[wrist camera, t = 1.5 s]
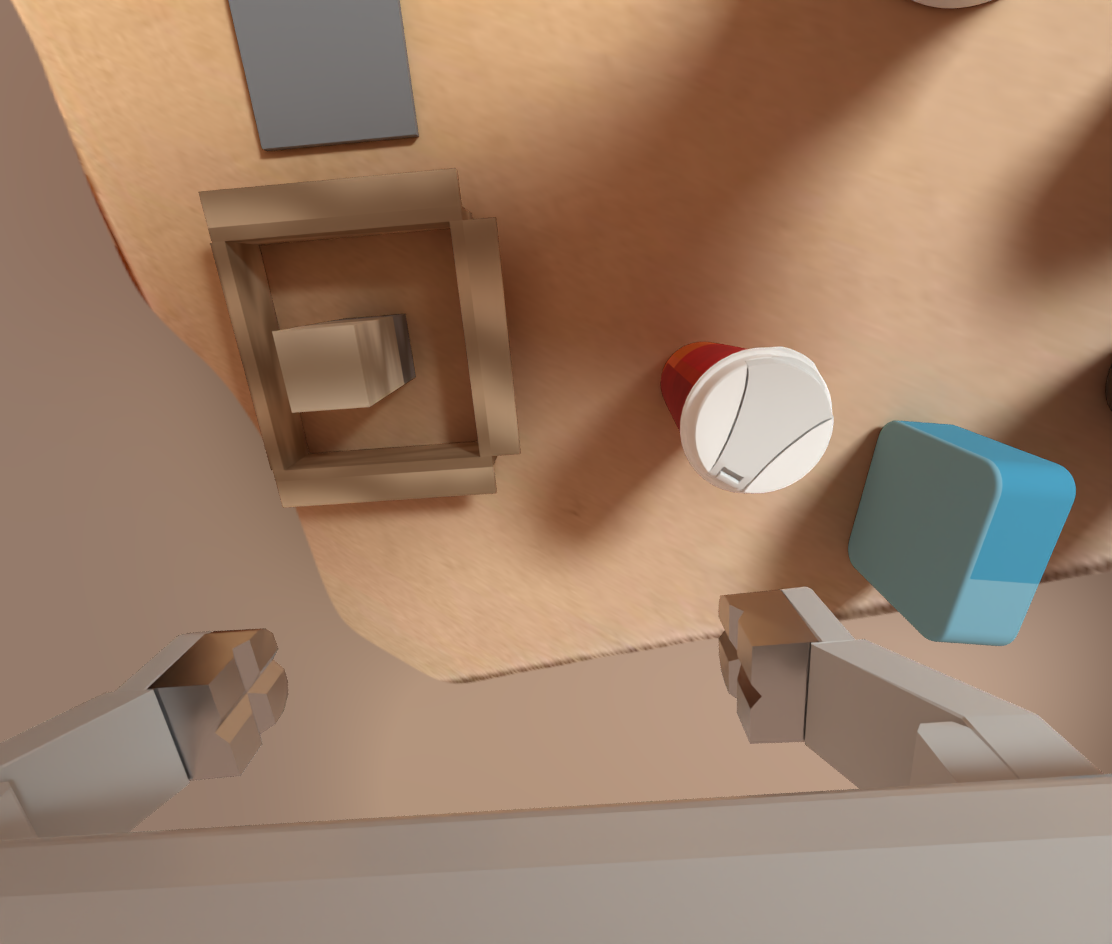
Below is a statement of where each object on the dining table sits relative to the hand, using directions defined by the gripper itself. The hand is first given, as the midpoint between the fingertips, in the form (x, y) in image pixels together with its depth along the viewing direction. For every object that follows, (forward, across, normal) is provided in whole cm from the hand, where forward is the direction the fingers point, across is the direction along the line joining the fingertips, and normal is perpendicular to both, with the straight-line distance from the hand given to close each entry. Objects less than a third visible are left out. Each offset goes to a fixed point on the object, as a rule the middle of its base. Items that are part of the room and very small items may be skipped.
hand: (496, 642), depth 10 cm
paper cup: (+32, -11, +1) cm, 34 cm away
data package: (+32, -26, +11) cm, 43 cm away
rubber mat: (+31, +12, -23) cm, 41 cm away
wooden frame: (+32, +12, -3) cm, 34 cm away
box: (+32, +12, -3) cm, 34 cm away
